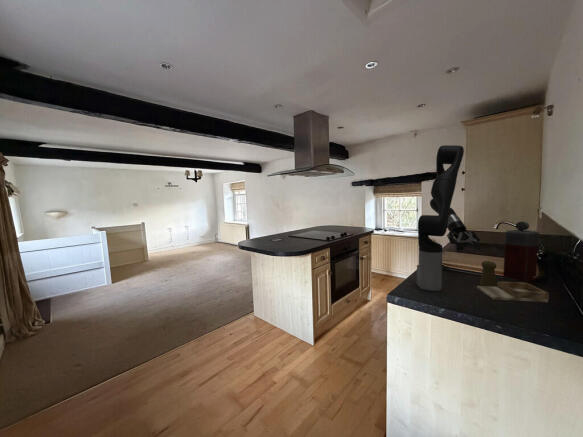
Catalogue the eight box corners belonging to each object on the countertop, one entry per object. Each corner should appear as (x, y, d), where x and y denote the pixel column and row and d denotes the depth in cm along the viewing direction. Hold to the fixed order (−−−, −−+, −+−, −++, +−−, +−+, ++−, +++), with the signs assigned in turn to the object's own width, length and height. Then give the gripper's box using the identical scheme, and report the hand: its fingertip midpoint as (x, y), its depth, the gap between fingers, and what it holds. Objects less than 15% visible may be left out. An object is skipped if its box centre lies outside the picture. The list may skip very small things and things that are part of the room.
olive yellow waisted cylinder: (499, 287, 105) (501, 263, 104) (484, 286, 107) (485, 263, 106) (491, 282, 111) (492, 259, 110) (476, 282, 112) (477, 259, 111)
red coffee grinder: (538, 278, 115) (542, 221, 113) (525, 281, 111) (529, 223, 109) (516, 273, 123) (519, 220, 121) (503, 276, 119) (505, 221, 117)
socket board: (493, 299, 94) (494, 290, 94) (476, 288, 105) (477, 280, 105) (549, 302, 90) (550, 293, 90) (525, 290, 102) (526, 282, 101)
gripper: (445, 220, 125) (461, 246, 115) (471, 219, 126) (489, 244, 116) (438, 229, 131) (453, 254, 121) (462, 228, 132) (479, 253, 121)
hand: (470, 249), depth 118 cm, fingers open, 8 cm apart
